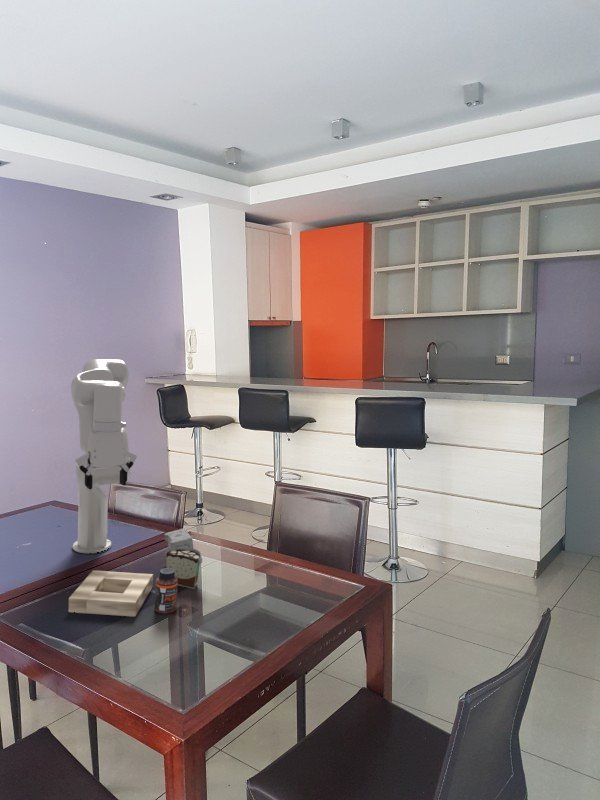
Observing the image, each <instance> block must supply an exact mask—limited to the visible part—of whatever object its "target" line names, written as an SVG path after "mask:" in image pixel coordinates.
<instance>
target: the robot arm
mask: <svg viewBox="0 0 600 800" xmlns="http://www.w3.org/2000/svg"><path fill="white" fill-rule="evenodd" d="M129 373H130V371H129V366H128V365H127V363H126V361H123V360H122V359H108V358H107V359H105V358H103V359H102V358H101V359H100V358H95V359H90V360H88V361H86V362H84V365H83V367H82V372H81V373H78V374H77V375H75V377H74V378H73V379H72V380H71V383H70V388H71V389H70V391H71V399H72V400H73V403H74V406H75V408H76V411H77V414H78V419H79V420H78V422H79V424H78V425H79V447H80V450H81V451H82V453H83V455H81V456H79V457H77V458H75V460H74V462H75V464H76V467H75V474H76V480H77V489H78V490H77V493H78V495H77V501H78V503H77V504H78V506H77V540H75V541H74V542H73V544H72V550H74V551H75V553H76V552H77V553H80V554H88V555H89V554H90V553H91V554H97V552H99V553H102V552H101V551H103V552H105V551H104V550H106V551H108V550H109V549H111V547H112V541H111V540H110V539H108V530H109V529H108V506H109V505H108V503H109V501H108V500H109V498H108V495H107V492H105V490H104V489H103V488H102V487H101V486H106V485H122V486H127V482H128V481H129V479H130V477H131V468H132V467H133V466H134V463H135V461H136V459H137V458H138V456H137V454H134V453H131V452H130V447H129V443H130V442H129V436H128V432H127V430H126V429H125V428H126V427H127V423H126V422H123V420H122V404H123V401H125V397H126V393H125V392H126V388H127V385H128V381H129V375H130V374H129ZM108 548H109V549H108ZM107 549H108V550H107Z"/></svg>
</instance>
